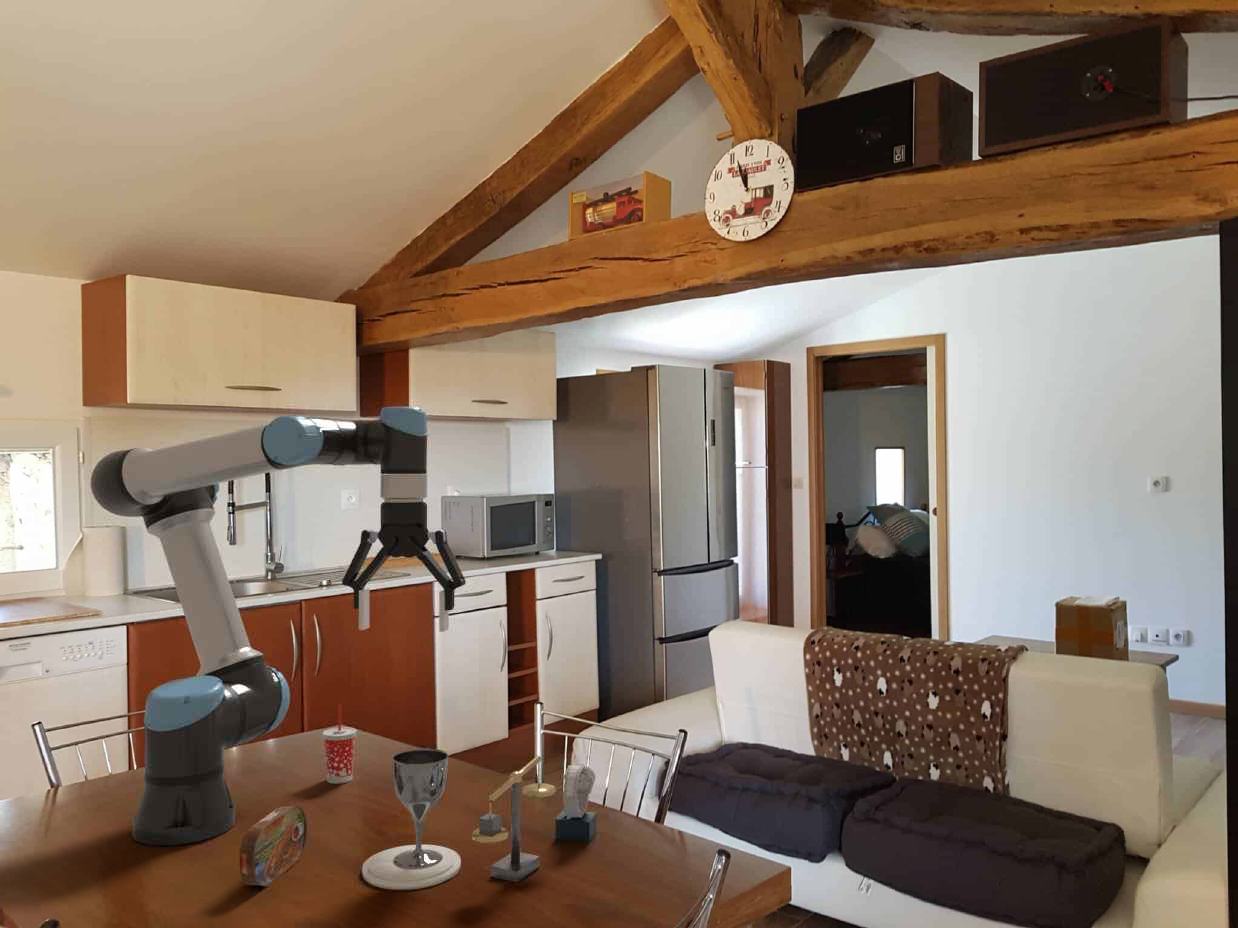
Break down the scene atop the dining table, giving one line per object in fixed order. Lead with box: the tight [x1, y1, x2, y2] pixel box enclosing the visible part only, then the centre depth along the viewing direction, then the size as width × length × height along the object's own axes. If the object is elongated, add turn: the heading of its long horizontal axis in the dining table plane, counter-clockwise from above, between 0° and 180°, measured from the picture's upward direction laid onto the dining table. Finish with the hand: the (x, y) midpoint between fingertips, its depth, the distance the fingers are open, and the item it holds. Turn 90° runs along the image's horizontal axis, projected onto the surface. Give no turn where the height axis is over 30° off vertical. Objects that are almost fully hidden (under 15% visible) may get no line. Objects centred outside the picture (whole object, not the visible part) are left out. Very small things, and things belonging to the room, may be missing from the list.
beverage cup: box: [322, 704, 357, 784], centre depth 181 cm, size 6×6×14 cm
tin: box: [238, 805, 308, 887], centre depth 139 cm, size 15×3×8 cm, turn 171°
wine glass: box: [392, 747, 449, 869], centre depth 141 cm, size 8×8×15 cm
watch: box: [555, 763, 597, 843], centre depth 153 cm, size 6×8×11 cm
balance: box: [471, 755, 557, 883], centre depth 140 cm, size 18×5×15 cm, turn 153°
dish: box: [361, 844, 462, 891], centre depth 140 cm, size 14×14×1 cm
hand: (403, 629), depth 159 cm, fingers open, 13 cm apart
